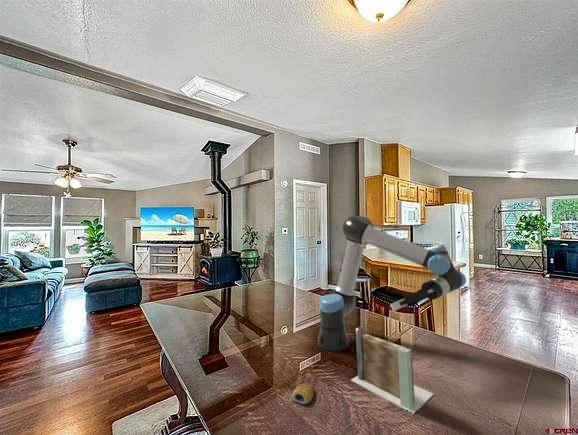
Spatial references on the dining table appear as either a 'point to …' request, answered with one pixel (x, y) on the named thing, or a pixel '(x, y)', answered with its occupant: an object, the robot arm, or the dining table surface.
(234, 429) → the dining table surface
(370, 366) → the gate
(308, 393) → the pastry
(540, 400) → the dining table surface
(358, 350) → the hinge post
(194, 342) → the dining table surface
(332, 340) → the robot arm
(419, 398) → the mat
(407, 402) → the latch post
